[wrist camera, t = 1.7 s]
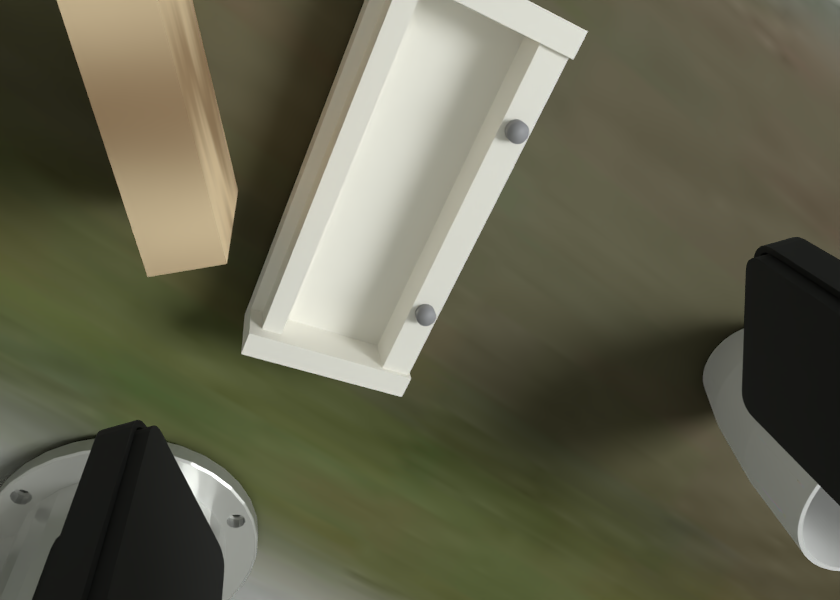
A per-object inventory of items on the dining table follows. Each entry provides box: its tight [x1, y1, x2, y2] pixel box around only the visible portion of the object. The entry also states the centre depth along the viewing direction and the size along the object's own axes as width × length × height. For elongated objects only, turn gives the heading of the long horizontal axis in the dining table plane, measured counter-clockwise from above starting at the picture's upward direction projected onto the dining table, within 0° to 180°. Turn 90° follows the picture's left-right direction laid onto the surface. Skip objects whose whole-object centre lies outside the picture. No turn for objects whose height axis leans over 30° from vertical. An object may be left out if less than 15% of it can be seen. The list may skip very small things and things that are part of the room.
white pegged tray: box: [241, 0, 588, 397], centre depth 27 cm, size 16×7×3 cm, turn 155°
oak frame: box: [57, 0, 238, 277], centre depth 22 cm, size 10×2×7 cm, turn 6°
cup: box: [703, 329, 840, 571], centre depth 32 cm, size 8×8×10 cm
